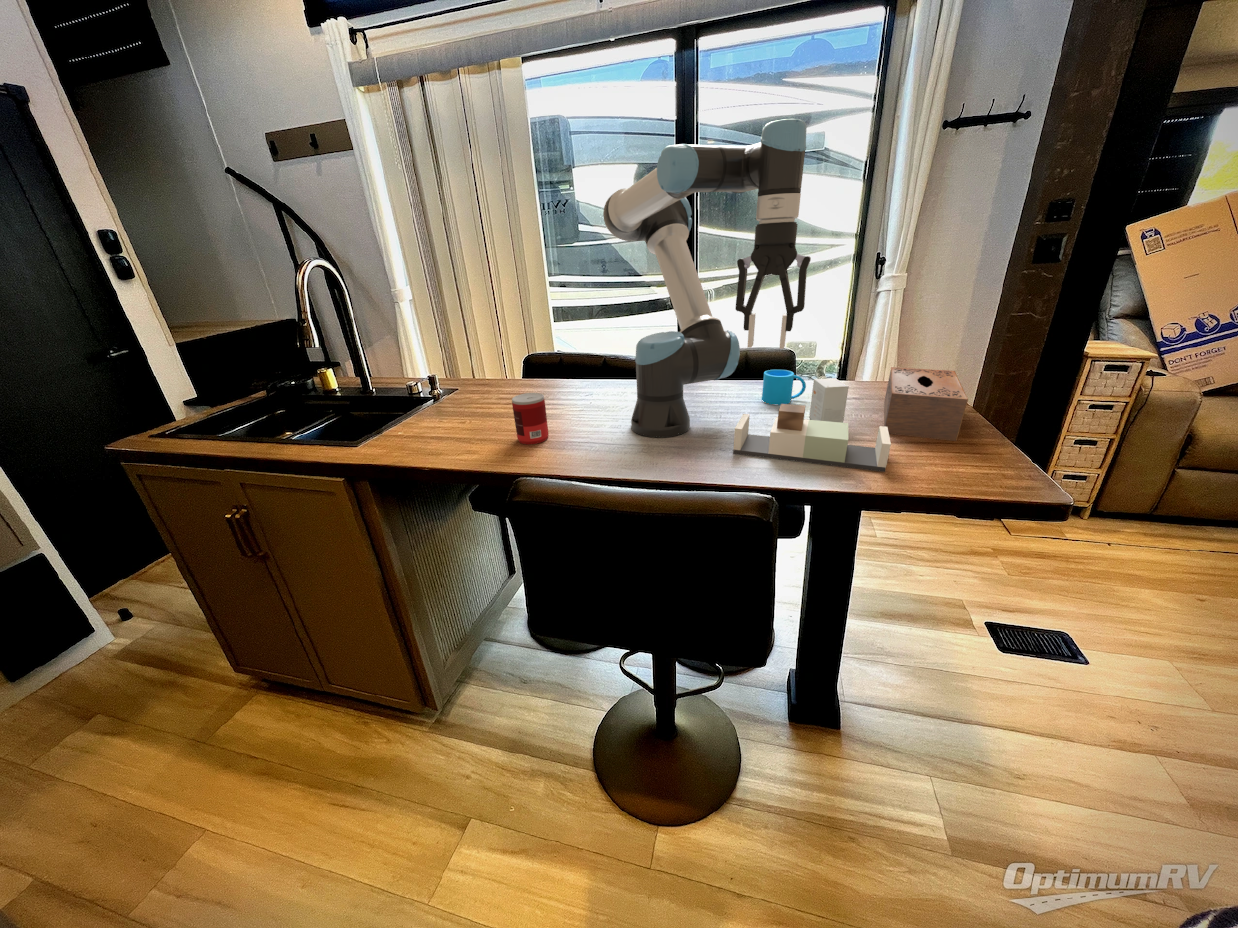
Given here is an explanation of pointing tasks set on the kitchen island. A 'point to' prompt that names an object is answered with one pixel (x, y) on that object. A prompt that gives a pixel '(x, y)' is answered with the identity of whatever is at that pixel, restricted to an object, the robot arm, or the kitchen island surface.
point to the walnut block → (791, 417)
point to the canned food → (530, 418)
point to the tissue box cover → (924, 403)
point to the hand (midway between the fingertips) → (766, 346)
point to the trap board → (850, 459)
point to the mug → (780, 386)
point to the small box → (828, 400)
